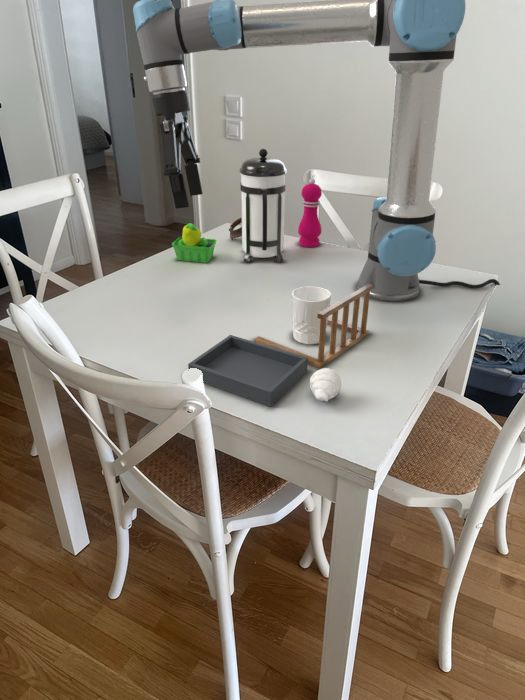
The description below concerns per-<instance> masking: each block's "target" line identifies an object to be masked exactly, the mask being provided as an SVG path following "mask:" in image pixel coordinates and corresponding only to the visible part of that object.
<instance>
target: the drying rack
mask: <svg viewBox="0 0 525 700" xmlns="http://www.w3.org/2000/svg"><path fill="white" fill-rule="evenodd" d="M371 290H373V285H371V284H367V285H365V286H364V287H362V288H360V289H358V288H357V290H355V291H353V292H351V293H350V294H348V295H346V296H344V297H343V298H341V299H339V300H338V301H336V302H334V303H333V304H330V306H329V307H327V308H326V309H324V310H322V311H321V312H319V313H318V315H317V318H319V319H320V334H319V343H318V352H317V358H315V357H313V356H311V355H308V354H305V353H303V352H300V351H298V350H296V349H292V348H290V347H288V346H284V345H282V344H280V343H277V342H274V341H272V340H269V339H267V338H264V337H262V336H257V337H255V338H254V339H253V341H254V342H256V343H260V344H263V345H266V346H270V347H273V348H277V349H280V350H283V351H287V352H290V353H293V354H297V355H300V356H304V357H307V358H308V365H310V366H313V367H315V368H318V369H322V368H324V367H325V365H327V364H328V363H330V362H331V361H332V360H334V359H336V358H337V357H338V356H340V355H341V354H343V353H344V352H345V351H347V350H348V349H350V348H351V347H352V346H354V345H356V344H357V343H358V342H359V341H361V340H363V339H364V338H366V337H367V336H368V335H369V333H370V331H369V330H367V323H368V315H369V307H370V306H369V305H370V291H371ZM362 297H363V303H362V305H363V306H362V315H361V323H360V327H358V322H359V312H360V305H361V304H360V302H361V298H362ZM351 303H353V309H352V318H351V319H352V320H351V324H350V323H349V314H350V304H351ZM341 309H342V319H341V320H342V321H341V320H338V319H339V310H341ZM330 316H331V317H330ZM327 317H328V322H327V325H330V339H329V351H328V352H327V353H326V354H325V349H326V348H325V346H326V331H327V327H326V319H327ZM338 328H339V329H341V330H340V331H341V332H340V343H339V345H336V344H337V332H338ZM348 332H350V337H349V338H348V339H347V337H348V336H347V335H348Z"/></svg>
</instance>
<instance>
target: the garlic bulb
mask: <svg viewBox="0 0 525 700" xmlns="http://www.w3.org/2000/svg"><path fill="white" fill-rule="evenodd" d="M309 388H310V391H311V392H312V394H313V396H314V397H315V398H316V400H318V401H320V402H328V401H329V400H332V399H333V398H335V397H336V396H337V395H338V394H339V393H340V392H341V389H342V379H341V376H340V375H339V374H338V373H337V372H336V371H335V370H334V369H332V368H329V367H322V368H319V369H318V370H316V371H314V372H313V373H312V375H311V376H310V379H309Z"/></svg>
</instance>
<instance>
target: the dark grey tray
mask: <svg viewBox="0 0 525 700" xmlns="http://www.w3.org/2000/svg"><path fill="white" fill-rule="evenodd" d="M308 365H309V364H308V358H307V357H304V356H300V355H297V354H293V353H290V352H287V351H283V350H280V349H277V348H273V347H270V346H266V345H263V344H260V343H256V342H255V341H254V340H249V339H247V338H243V337H239V336H235V335H233V334H229V335H228V336H226V337H225V338H224V339H222V340H220V341H219V342H218V343H216V344H215V345H213V346H212V347H210V348H209V349H207V350H206V351H205V352H204V353H201V354H200V355H198V357H196V358H194V359H193V360H192V361H190V362H189V363H187V368H188V369H190V368H197V369H199V370H201V371H202V373H203V381H204V383H203V384H206V385H209V386H211V387H214V388H217V389H220V390H222V391H225V392H228V393H231V394H234V395H237V396H239V397H242V398H245V399H247V400H251V401H253V402H255V403H259V404H261V405H265V406H267V407H272V406H273V405H275V403H276V402H277V401H278V400H279V399H280V398H282V397H283V396H284V395H285V394H286V393H287V392H288V391H289V390H290V389H291V388H292V387H293V386H294V385H295V384H296V383H297V382H299V380H300V379H302V378H303V376H305V374H306V373H307V372H308V367H309V366H308Z"/></svg>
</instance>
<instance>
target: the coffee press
mask: <svg viewBox="0 0 525 700" xmlns="http://www.w3.org/2000/svg"><path fill="white" fill-rule="evenodd" d="M268 153H269V152H268V150H267V149H265V148H261V149H260V150H259V152H258V154H259V157H252V158H249V159H246V160H245V161H243V162H242V164H241V167H240V168H239V173H240V179H241V180H240V183H239V184H240V185H239V186H240V191H241V218H242V222H241V227H242V236H241V244H242V246H241V247H242V248H241V249H242V251H243V253H244V254H245V255H244V257H243V262H244V263H247V264H249V263H250V262H251V261H252V259H253V258H264V259H265V258H274V259H275V261H276V262H277V263H282V262H284V256H283V254H282V252H283V251H284V244H285V243H284V242H285V206H286V205H285V202H286V201H285V200H286V199H285V198H286V191H287V189H286V188H287V183H286V175H287V173H288V169H287V167H286V166H285V163H284V162H283V161H281V160H280V159H278V158H276V157H275V158H274V157H267V155H268Z"/></svg>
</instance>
